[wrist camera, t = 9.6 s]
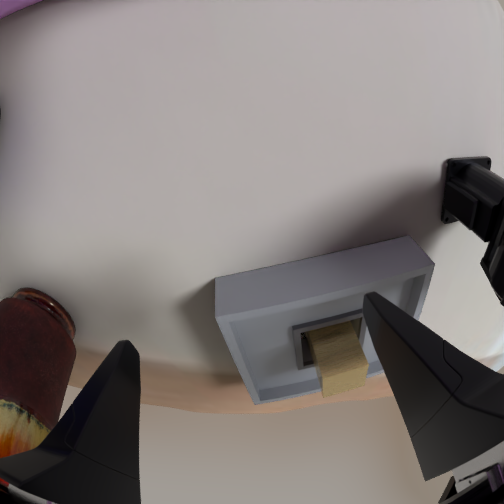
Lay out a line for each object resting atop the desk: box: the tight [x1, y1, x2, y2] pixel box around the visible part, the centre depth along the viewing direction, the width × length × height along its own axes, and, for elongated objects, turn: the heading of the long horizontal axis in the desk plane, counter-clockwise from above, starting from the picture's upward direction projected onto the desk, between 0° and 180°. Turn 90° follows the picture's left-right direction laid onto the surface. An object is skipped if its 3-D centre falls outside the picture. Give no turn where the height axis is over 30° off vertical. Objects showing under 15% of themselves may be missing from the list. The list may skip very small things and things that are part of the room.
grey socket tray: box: [215, 235, 435, 405], centre depth 26 cm, size 18×16×4 cm
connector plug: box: [305, 321, 369, 398], centre depth 25 cm, size 4×4×8 cm
